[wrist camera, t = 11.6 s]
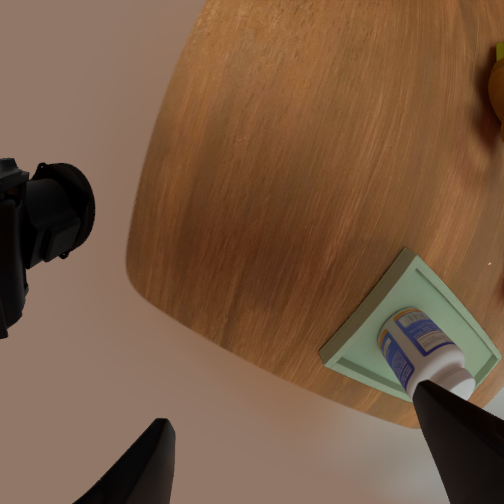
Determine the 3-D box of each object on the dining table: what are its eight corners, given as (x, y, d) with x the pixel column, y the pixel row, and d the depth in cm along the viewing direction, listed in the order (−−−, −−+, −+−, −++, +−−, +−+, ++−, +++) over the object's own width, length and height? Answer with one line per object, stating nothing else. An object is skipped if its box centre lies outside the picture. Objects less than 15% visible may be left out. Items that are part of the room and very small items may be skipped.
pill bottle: (397, 360, 23) (441, 429, 14) (364, 342, 22) (411, 423, 13) (432, 318, 22) (490, 379, 13) (404, 295, 21) (470, 363, 12)
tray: (318, 351, 23) (323, 365, 21) (404, 246, 20) (417, 254, 18) (443, 407, 28) (449, 416, 26) (495, 349, 26) (502, 356, 24)
